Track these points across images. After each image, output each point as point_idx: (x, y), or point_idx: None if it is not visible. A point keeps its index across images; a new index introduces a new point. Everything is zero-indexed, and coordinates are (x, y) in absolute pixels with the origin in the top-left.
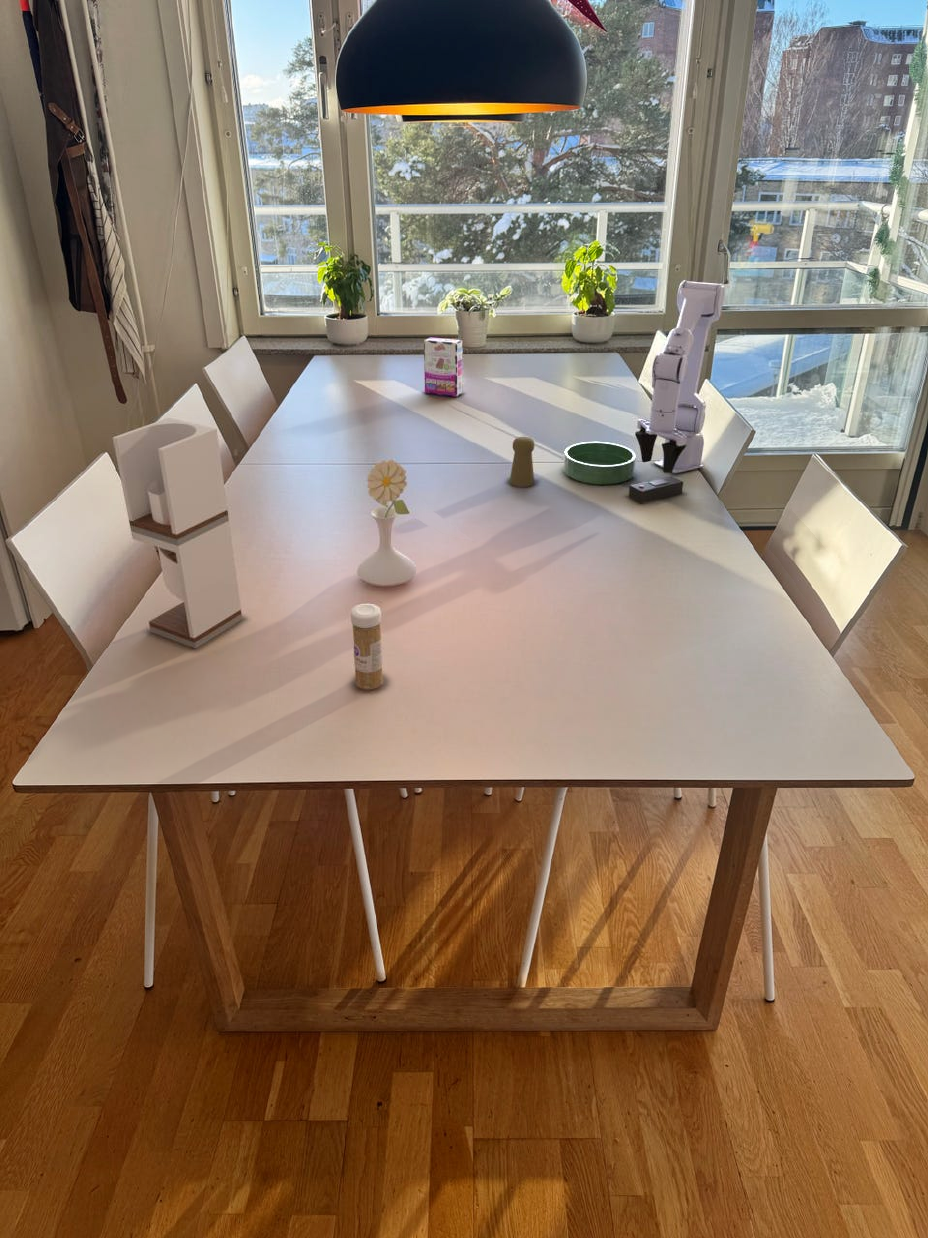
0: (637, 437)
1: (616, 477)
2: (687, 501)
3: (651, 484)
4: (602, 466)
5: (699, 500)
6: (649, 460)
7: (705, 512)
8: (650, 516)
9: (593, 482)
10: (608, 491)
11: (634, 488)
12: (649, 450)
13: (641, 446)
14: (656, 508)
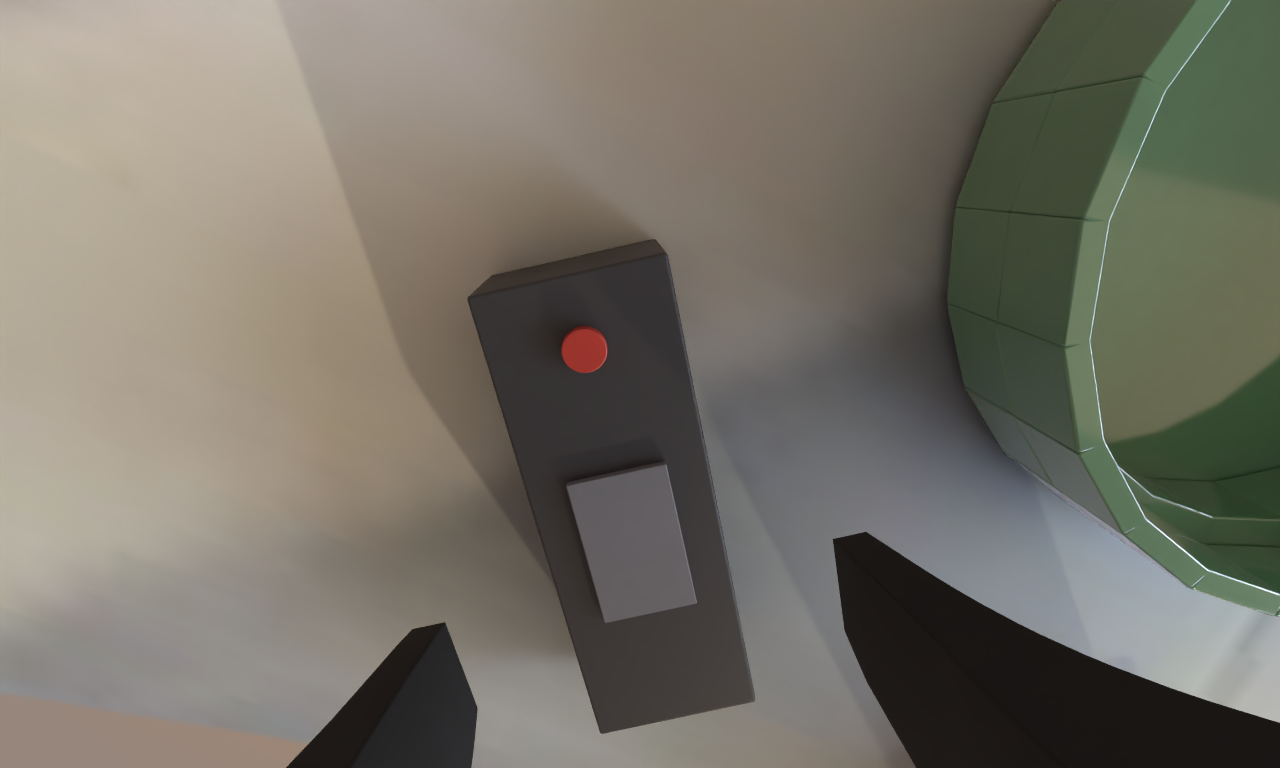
0: (1250, 741)
1: (980, 263)
2: (453, 632)
3: (616, 468)
4: (1143, 68)
5: None
6: (844, 621)
7: (234, 658)
8: (194, 228)
9: (1048, 22)
10: (839, 115)
11: (587, 269)
12: (915, 720)
13: (994, 655)
14: (363, 360)
